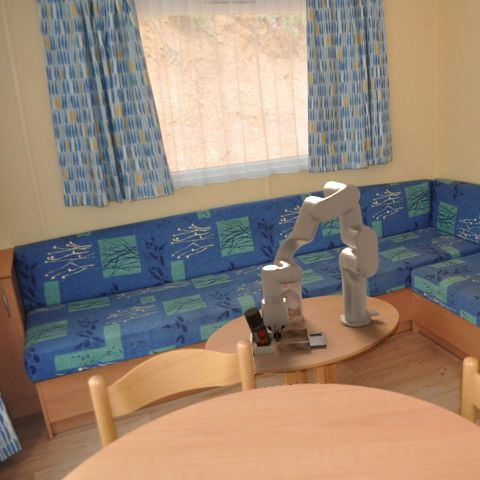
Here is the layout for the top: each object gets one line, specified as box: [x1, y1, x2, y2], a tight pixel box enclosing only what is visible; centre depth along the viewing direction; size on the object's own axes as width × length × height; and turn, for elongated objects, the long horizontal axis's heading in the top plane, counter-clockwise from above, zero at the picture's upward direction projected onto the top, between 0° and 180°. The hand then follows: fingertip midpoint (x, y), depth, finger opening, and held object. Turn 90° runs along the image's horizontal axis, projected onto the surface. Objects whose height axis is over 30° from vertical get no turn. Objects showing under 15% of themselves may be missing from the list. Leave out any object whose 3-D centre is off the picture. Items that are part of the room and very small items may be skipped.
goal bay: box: [249, 330, 275, 355], centre depth 182 cm, size 9×13×2 cm
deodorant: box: [243, 307, 272, 347], centre depth 179 cm, size 6×6×15 cm
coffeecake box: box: [282, 279, 304, 324], centre depth 199 cm, size 15×7×20 cm, turn 77°
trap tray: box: [307, 331, 327, 349], centre depth 180 cm, size 6×10×1 cm, turn 177°
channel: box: [278, 327, 312, 352], centre depth 181 cm, size 12×12×3 cm
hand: (277, 340), depth 181 cm, fingers closed
